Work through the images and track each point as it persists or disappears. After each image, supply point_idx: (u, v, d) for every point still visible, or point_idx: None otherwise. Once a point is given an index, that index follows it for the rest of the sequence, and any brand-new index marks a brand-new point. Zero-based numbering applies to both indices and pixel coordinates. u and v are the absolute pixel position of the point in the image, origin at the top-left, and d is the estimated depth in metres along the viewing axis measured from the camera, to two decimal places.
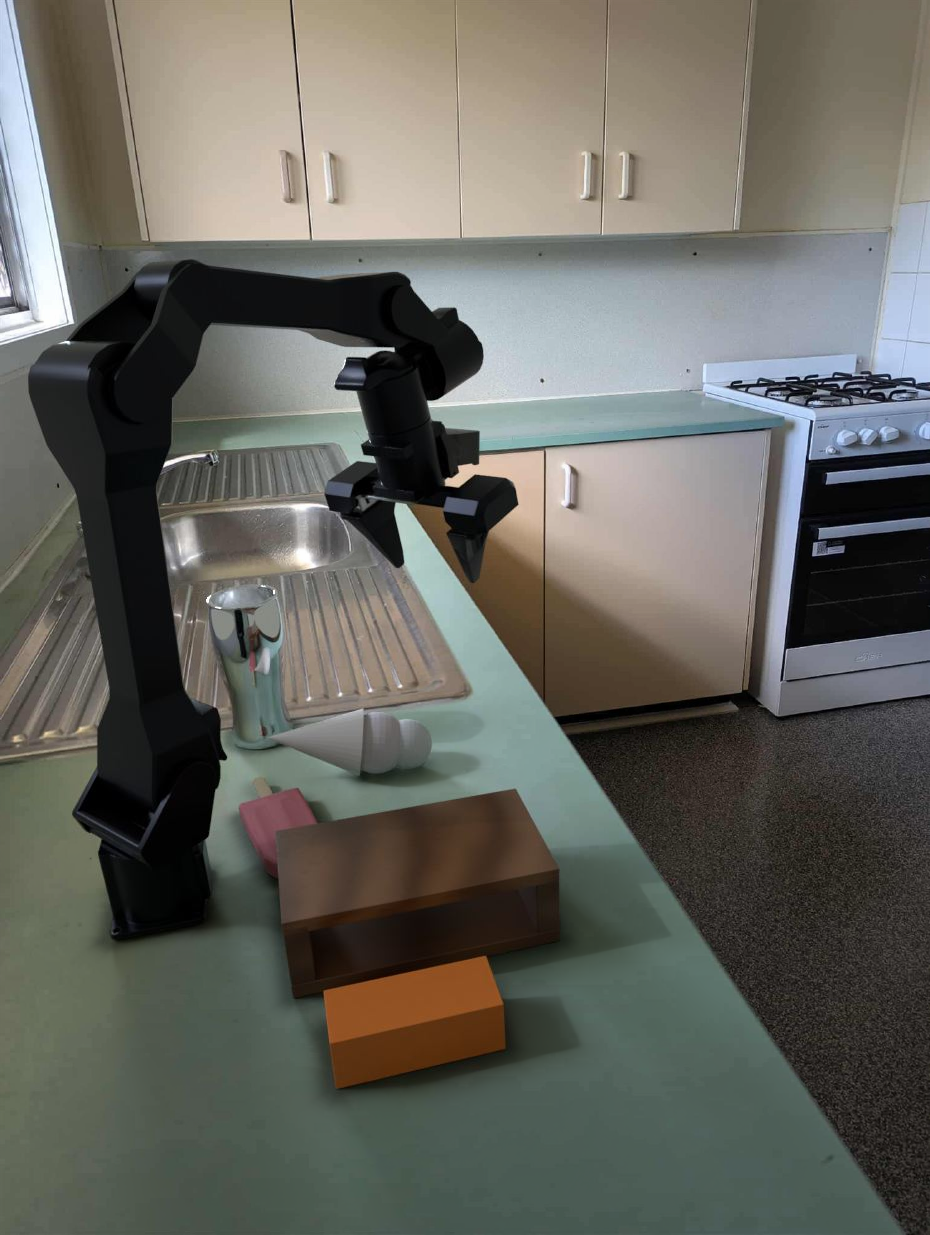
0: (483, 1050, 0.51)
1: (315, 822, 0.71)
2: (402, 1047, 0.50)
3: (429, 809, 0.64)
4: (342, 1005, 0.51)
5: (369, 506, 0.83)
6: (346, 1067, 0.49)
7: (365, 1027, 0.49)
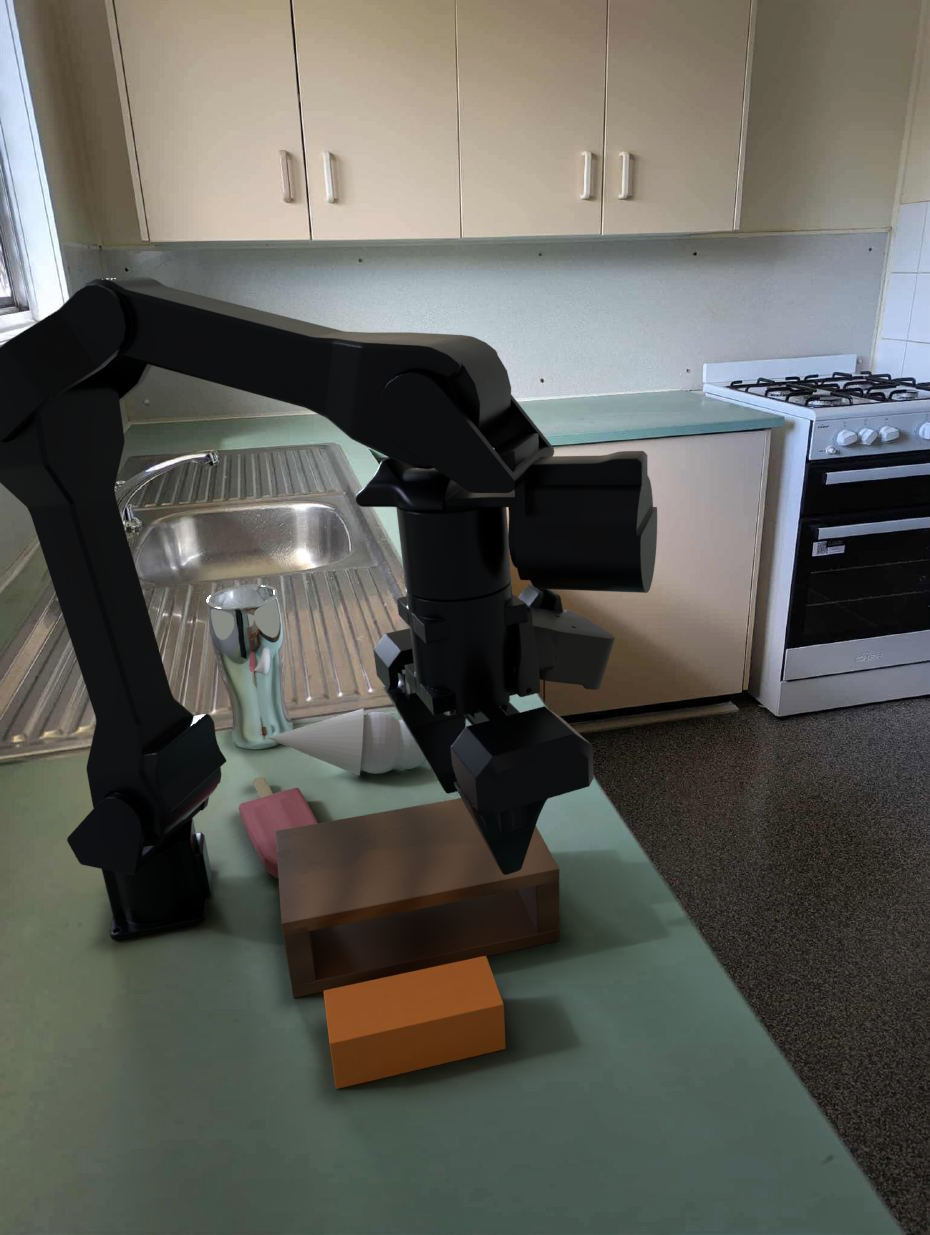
0: (483, 1050, 0.51)
1: (315, 822, 0.71)
2: (402, 1047, 0.50)
3: (429, 809, 0.64)
4: (342, 1005, 0.51)
5: None
6: (346, 1067, 0.49)
7: (365, 1027, 0.49)
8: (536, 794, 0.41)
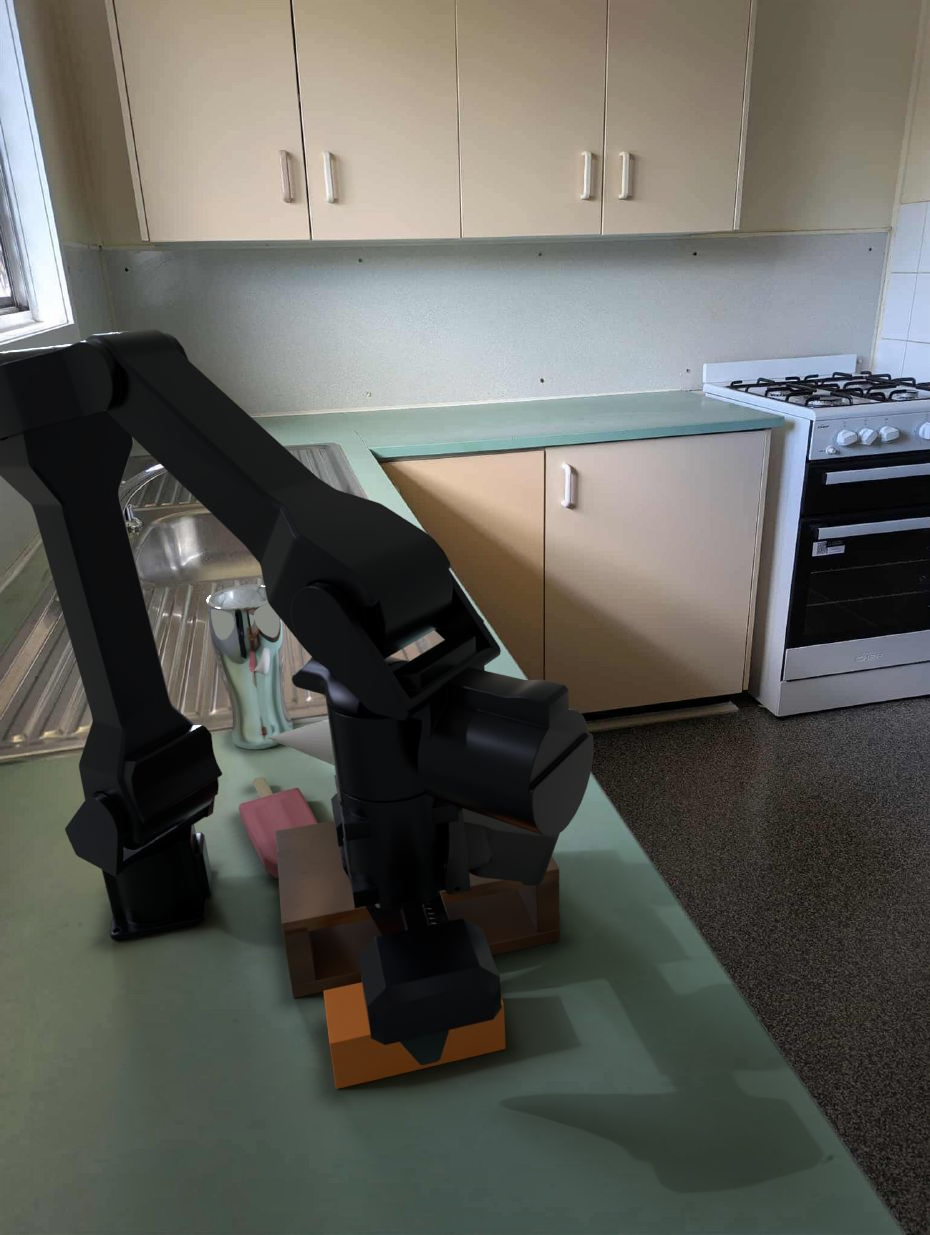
0: (483, 1050, 0.51)
1: (315, 822, 0.71)
2: (402, 1047, 0.50)
3: None
4: (342, 1005, 0.51)
5: None
6: (346, 1067, 0.49)
7: (365, 1027, 0.49)
8: (433, 1026, 0.40)
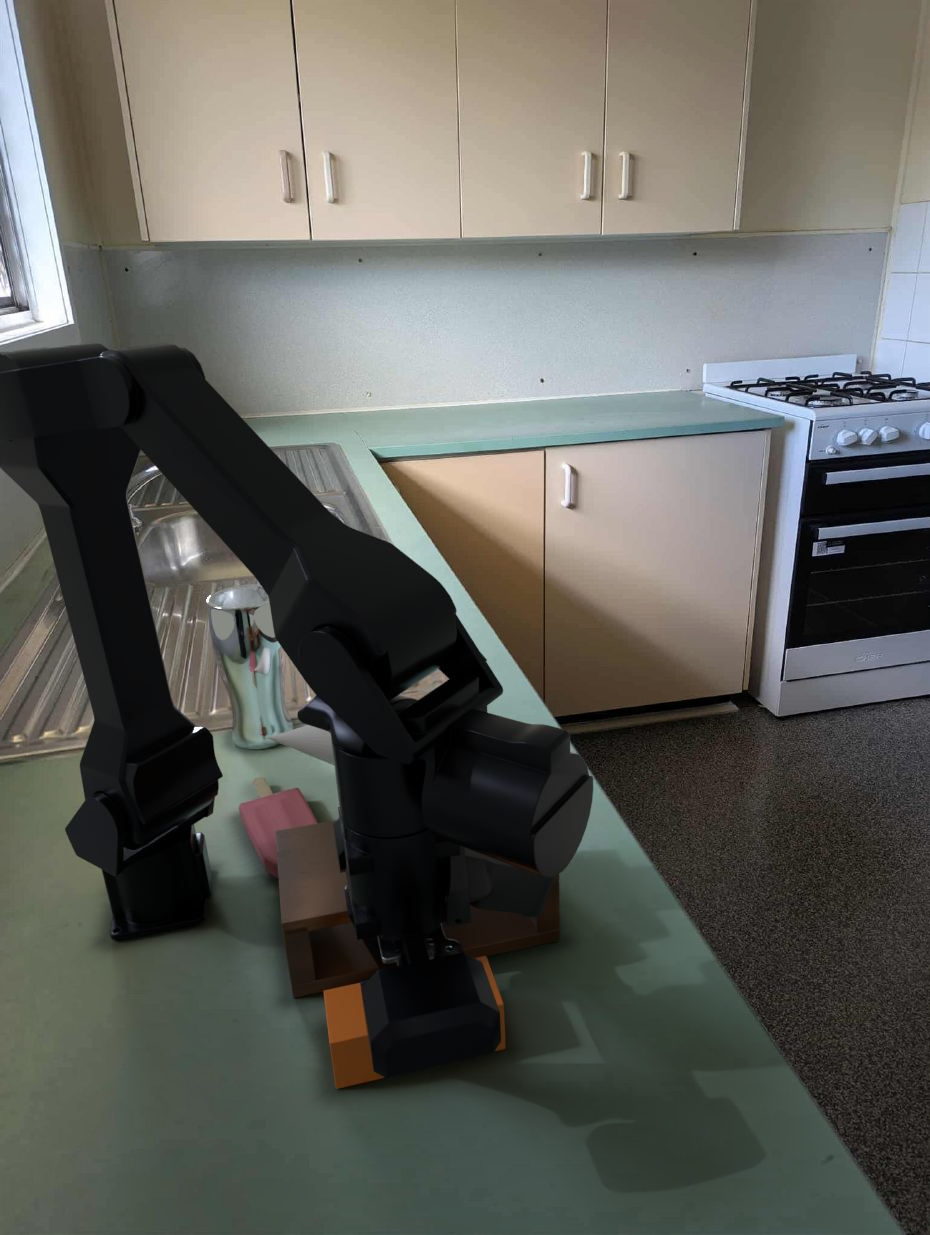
0: None
1: (315, 822, 0.71)
2: None
3: None
4: (342, 1005, 0.51)
5: None
6: (346, 1067, 0.49)
7: (365, 1027, 0.49)
8: (434, 1060, 0.40)
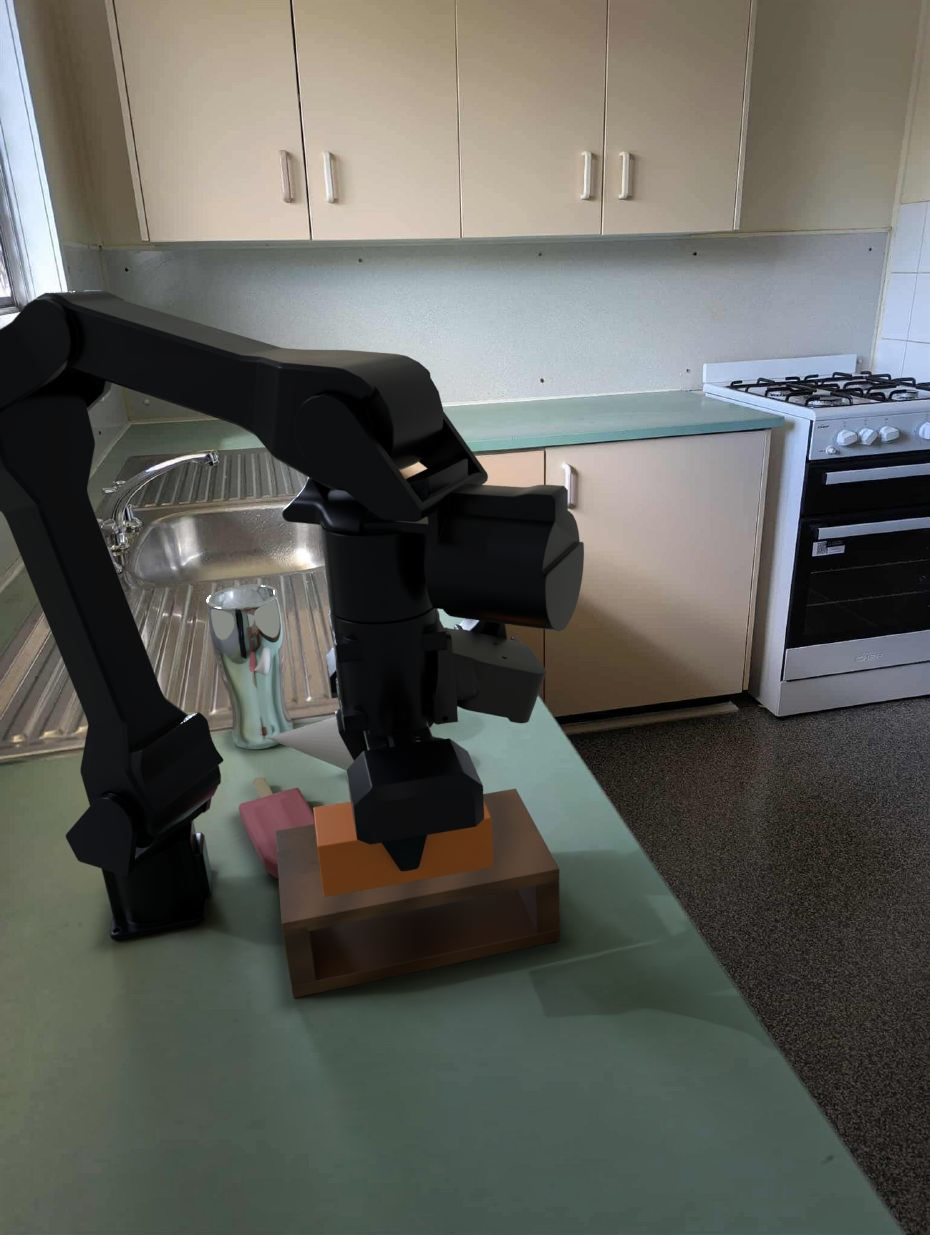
0: (470, 866, 0.51)
1: None
2: (389, 857, 0.50)
3: None
4: (331, 818, 0.51)
5: None
6: (334, 874, 0.50)
7: (353, 834, 0.50)
8: (417, 829, 0.41)
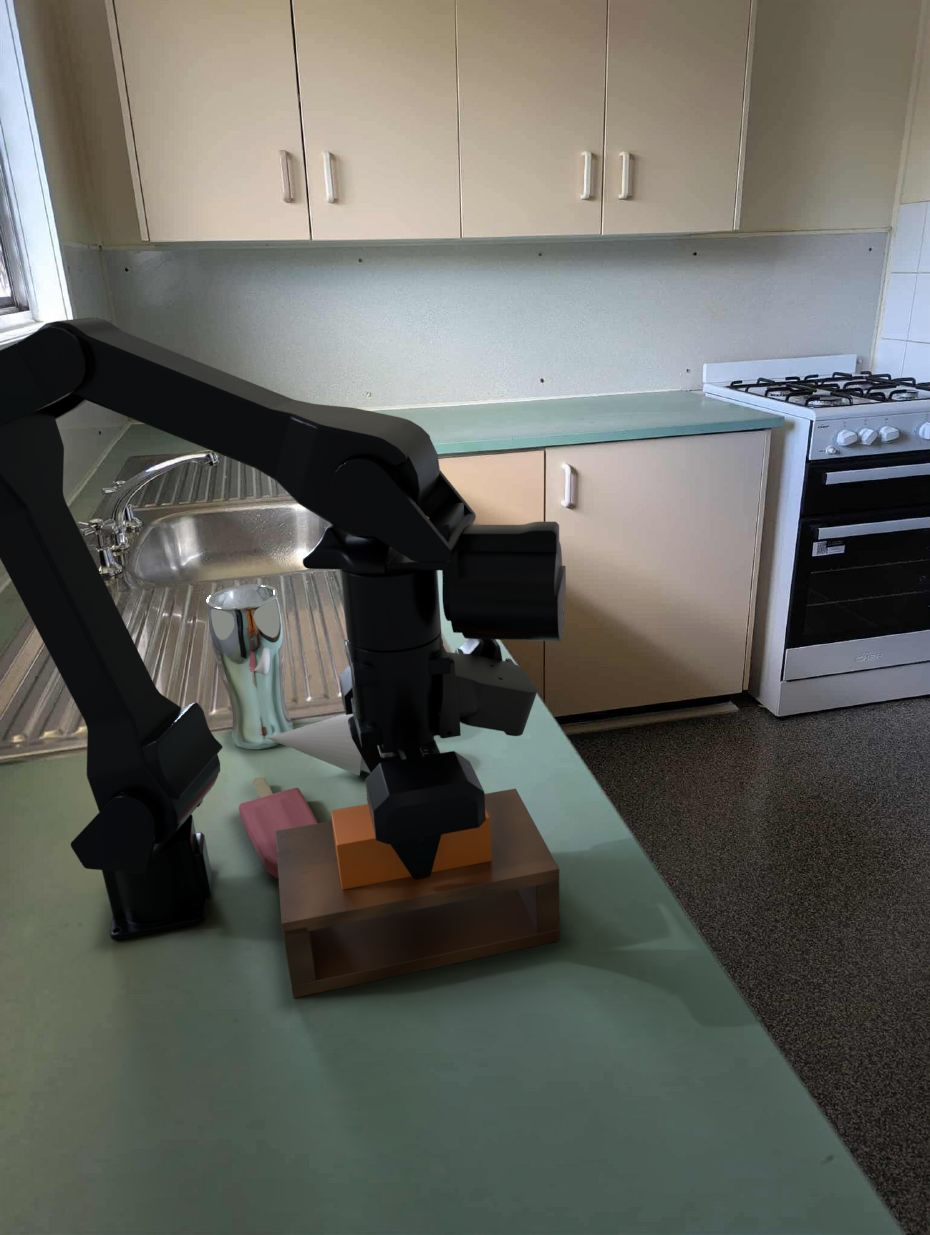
0: (471, 860, 0.58)
1: (315, 822, 0.71)
2: None
3: None
4: (347, 819, 0.57)
5: None
6: (351, 869, 0.56)
7: (368, 834, 0.56)
8: (428, 830, 0.47)
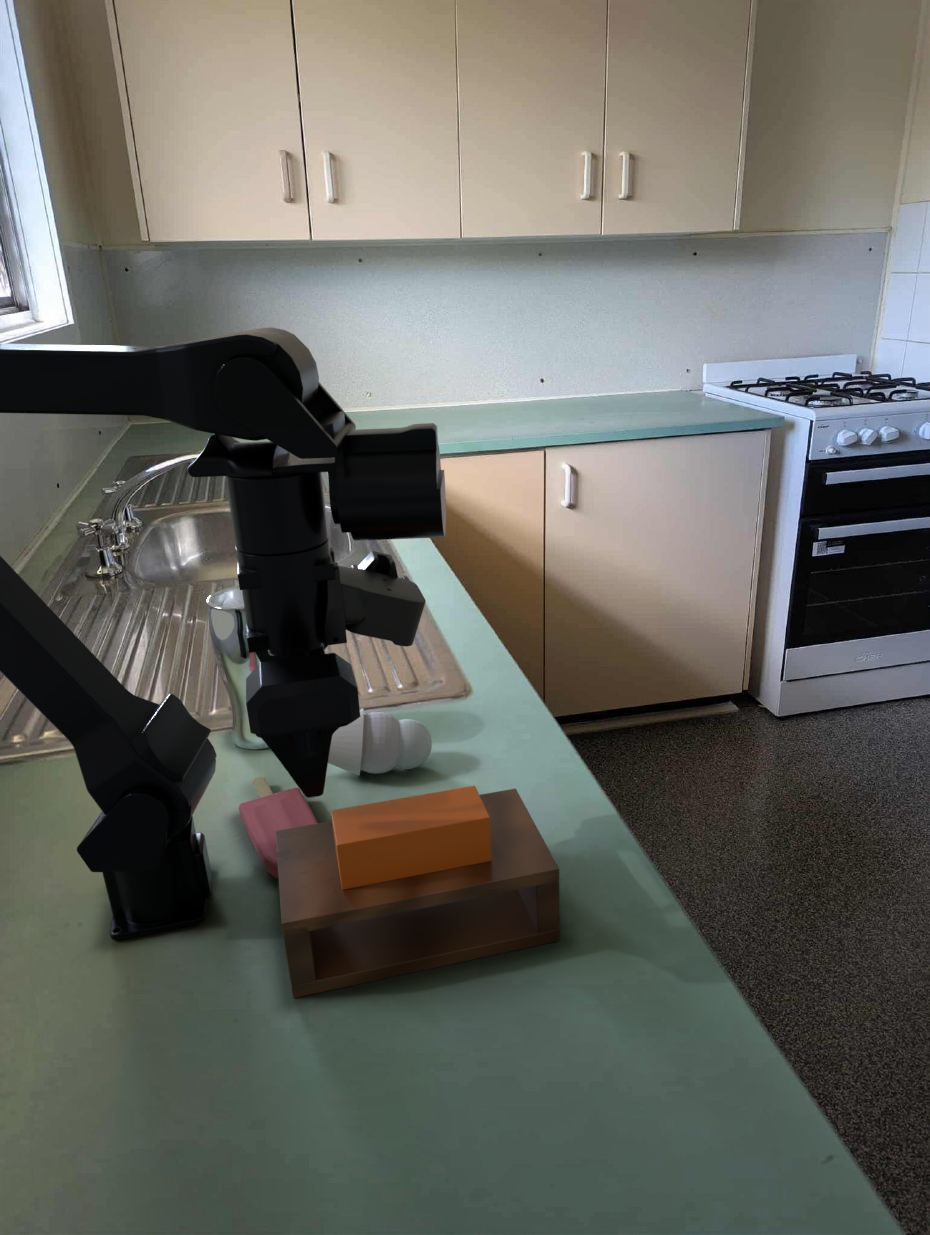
0: (471, 860, 0.58)
1: (315, 822, 0.71)
2: (400, 853, 0.56)
3: None
4: (347, 819, 0.57)
5: None
6: (351, 869, 0.56)
7: (368, 834, 0.56)
8: (300, 723, 0.49)
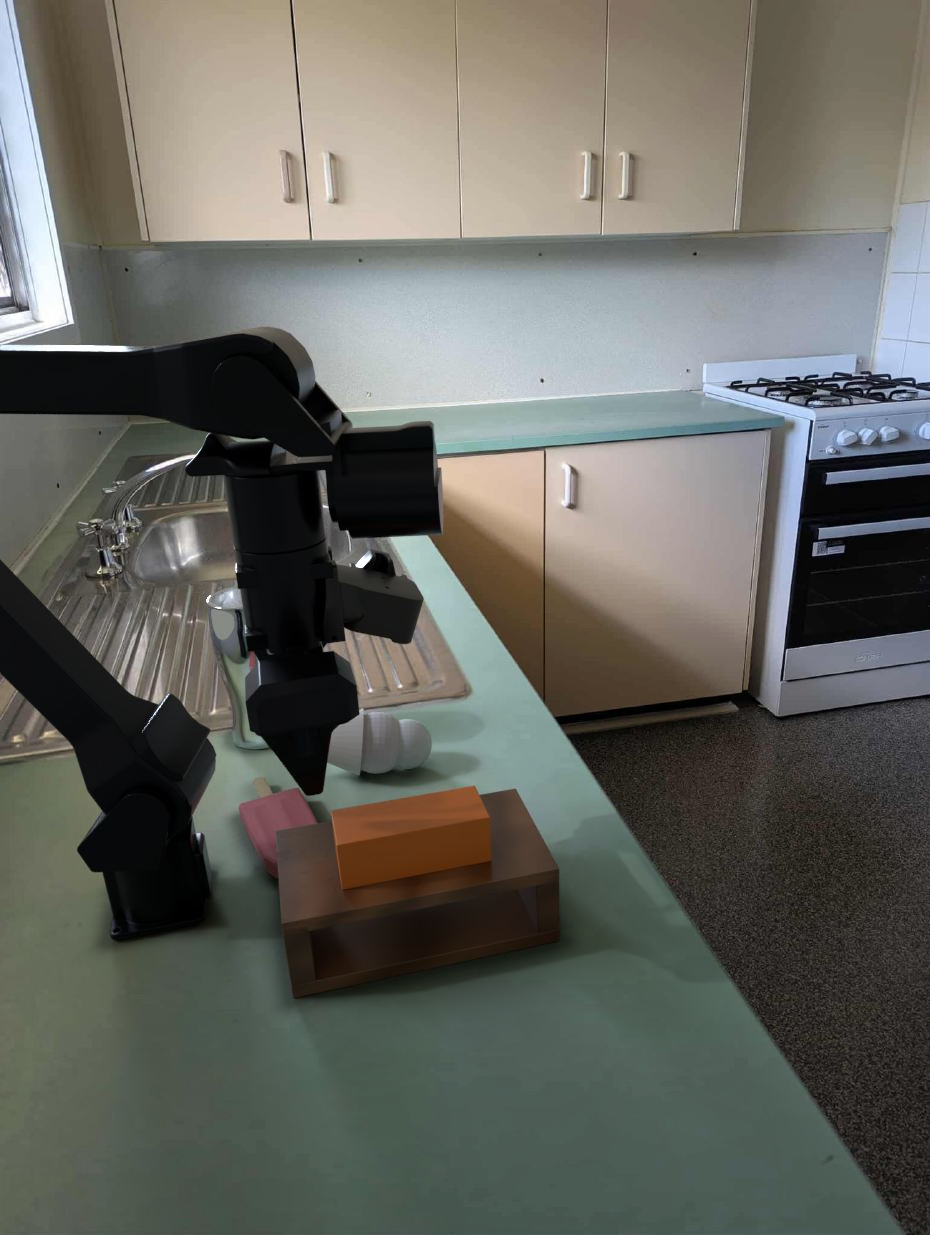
0: (471, 860, 0.58)
1: (315, 822, 0.71)
2: (400, 853, 0.56)
3: None
4: (347, 819, 0.57)
5: None
6: (351, 869, 0.56)
7: (368, 834, 0.56)
8: (300, 721, 0.49)
